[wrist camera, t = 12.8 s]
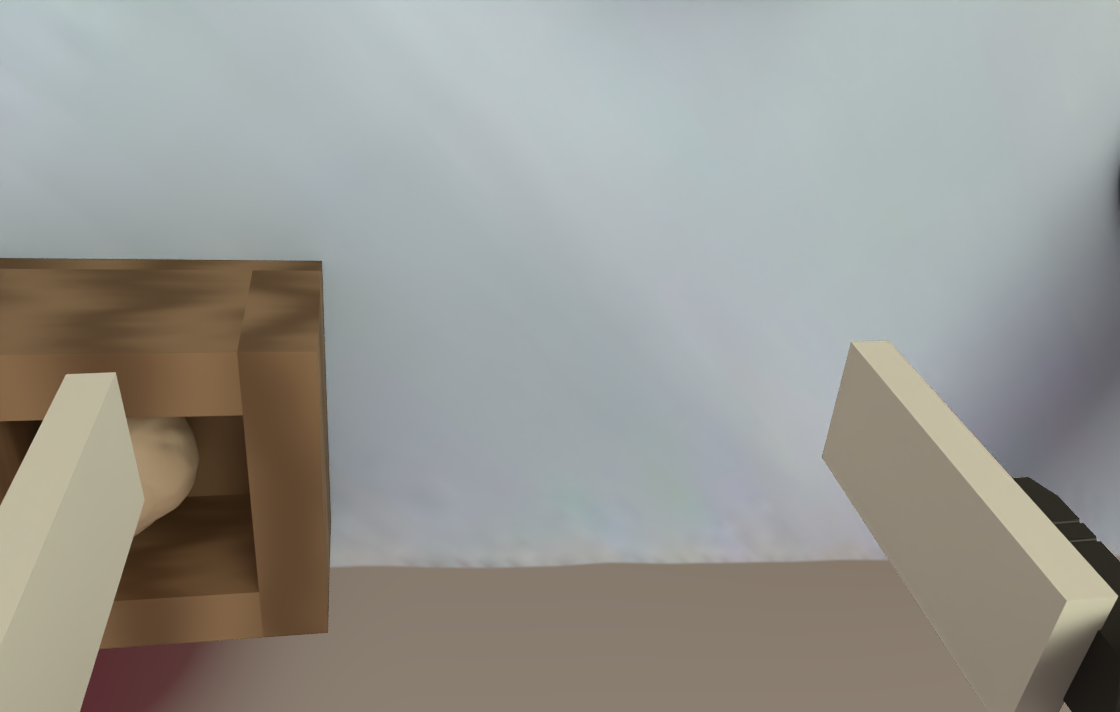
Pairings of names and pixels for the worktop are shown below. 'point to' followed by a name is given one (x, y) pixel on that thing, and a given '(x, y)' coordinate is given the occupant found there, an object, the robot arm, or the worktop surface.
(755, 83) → the worktop surface
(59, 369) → the walnut well
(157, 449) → the garlic bulb
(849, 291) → the worktop surface
